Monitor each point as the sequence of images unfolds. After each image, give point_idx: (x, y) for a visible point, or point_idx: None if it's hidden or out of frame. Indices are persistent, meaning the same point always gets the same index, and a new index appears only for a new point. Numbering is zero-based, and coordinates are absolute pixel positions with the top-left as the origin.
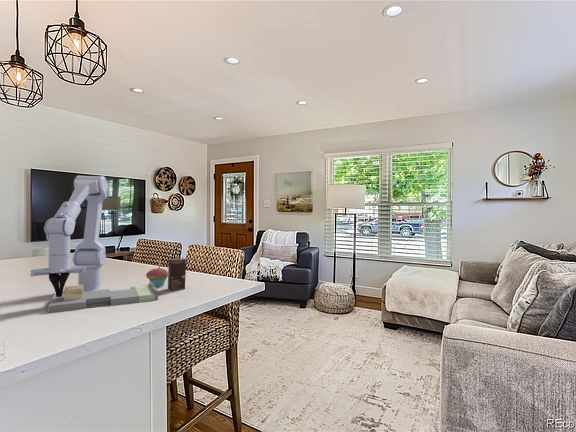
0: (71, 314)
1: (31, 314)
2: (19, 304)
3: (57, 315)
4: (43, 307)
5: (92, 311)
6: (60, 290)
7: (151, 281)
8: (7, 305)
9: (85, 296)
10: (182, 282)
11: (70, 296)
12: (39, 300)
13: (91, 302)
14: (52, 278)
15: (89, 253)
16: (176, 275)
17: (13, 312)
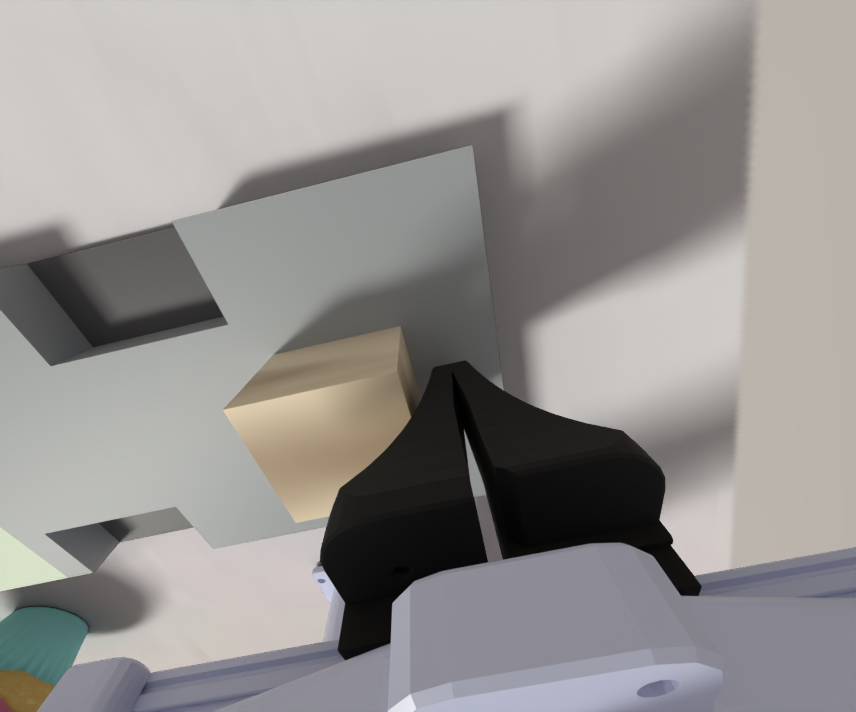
0: (230, 12)
1: (576, 138)
2: (668, 415)
3: (353, 16)
4: (530, 322)
5: (73, 77)
6: (441, 388)
7: (30, 647)
8: (724, 408)
9: None
10: None
11: (351, 347)
12: None
13: (208, 321)
14: (582, 444)
15: None
16: None
17: (695, 241)
